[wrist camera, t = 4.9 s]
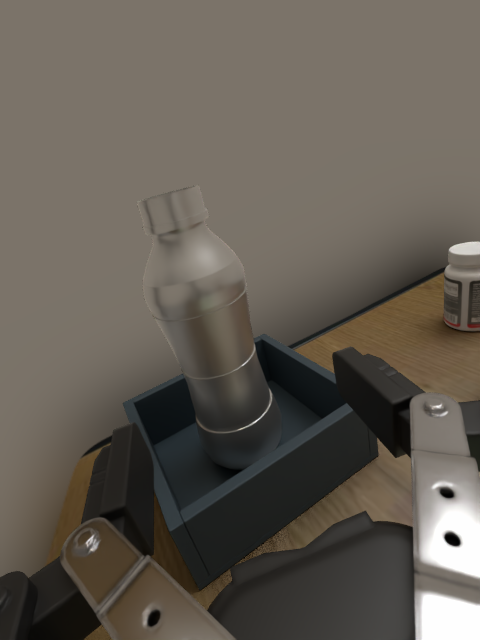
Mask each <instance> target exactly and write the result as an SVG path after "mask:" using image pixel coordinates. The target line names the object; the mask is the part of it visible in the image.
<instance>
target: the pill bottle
mask: <svg viewBox="0 0 480 640" xmlns="http://www.w3.org/2000/svg"><path fill="white" fill-rule="evenodd" d="M448 261H449V264H450V265H448V266H447V267H446V269H445V274H444V321H445V323H446V324H447V325H448V326H450V327H452V328H454V329H458V330H463V331H480V242H468V243H461V244H458V245H455V246H452V247H451V248H450V249H449V256H448Z"/></svg>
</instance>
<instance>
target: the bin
mask: <svg viewBox="0 0 480 640" xmlns="http://www.w3.org/2000/svg"><path fill="white" fill-rule="evenodd" d="M254 344H255V348H256V353H257V357H258V360H259V363H260V365H261V368H262V371H263V374H264V376H265V379H266V382H267V385H268V387H269V389H270V390H271V392H272V394H273V396H274V398H275V400H276V402H277V405H278V407H279V409H280V413H281V424H282V434H281V439H280V441H279V443H278V445H277V447H276V449H275V450H273V451H272V452H270V453H269V454H267V455H266V456H264V457H263V458H261V459H260V460H258V461H257V462H255V463H253V464H252V465H250V466H249V467H247V468H246V469H244V470H233V469H229V468H225V467H222V466H220V465H218V464H216V463H215V462H214V461H213V460H212V459H211V458H210V457H209V455H208V454H207V452H206V451H205V449H204V448H203V446H202V445H201V442H200V438H199V434H198V429H197V425H196V413H195V409H194V406H193V402H192V399H191V395H190V391H189V388H188V384H187V381H186V379H185V377H184V375H183V374H181V375H179V376H177V377H175V378H173V379H171V380H169V381H167V382H165V383H163V384H160V385H159V386H156V387H154V388H152V389H150V390H148V391H146V392H144V393H143V394H140V395H138V396H136V397H134V398H132V399H130V400H128V401H126V402H124V403H123V406H124V408H125V411H126V414H127V417H128V420H129V422H130V423H133V422H135V423H136V424H137V426H138V428H139V430H140V432H141V434H142V436H143V438H144V440H145V442H146V444H147V446H148V448H149V451H150V453H151V456H152V460H153V465H154V492H155V494H156V497H157V500H158V503H159V505H160V508H161V511H162V514H163V516H164V519H165V522H166V525H167V527H168V530H169V533H170V535H171V537H172V538H173V540H174V542H175V544H176V546H177V548H178V550H179V552H180V554H181V556H182V558H183V559H184V561H185V563H186V565H187V567H188V569H189V571H190V573H191V575H192V577H193V579H194V580H195V582H196V584H197V586H198V588H199V590H201V589H202V588H204V587H205V586H206V585H208V584H209V583H210V582H212V581H213V580H214V579H216V578H217V577H218V576H220V575H221V574H222V573H224V572H225V571H226V570H228V569H229V568H230V567H232V566H233V565H234V564H235V563H237V562H238V561H239V560H241V559H242V558H243V557H245V556H246V555H247V554H249V553H250V552H251V551H253V550H254V549H255V548H257V547H258V546H259V545H261V544H262V543H263V542H265V541H266V540H267V539H269V538H270V537H271V536H272V535H274V534H275V533H276V532H278V531H279V530H280V529H282V528H283V527H284V526H286V525H287V524H288V523H290V522H291V521H292V520H294V519H295V518H296V517H298V516H299V515H300V514H302V513H303V512H304V511H306V510H307V509H308V508H309V507H311V506H312V505H313V504H315V503H316V502H317V501H319V500H320V499H321V498H323V497H324V496H325V495H327V494H328V493H329V492H331V491H332V490H333V489H335V488H336V487H337V486H339V485H340V484H341V483H343V482H344V481H345V480H346V479H348V478H349V477H350V476H352V475H353V474H354V473H356V472H357V471H358V470H360V469H361V468H362V467H364V466H365V465H366V464H368V463H369V462H370V461H372V460H373V459H374V458H376V457H377V456H378V444H377V437H376V435H375V434H374V433H373V432H372V431H371V430H370V429H369V427H368V426H367V425H366V424H365V423H364V422H363V421H362V420H361V418H360V417H359V416H358V415H357V414H356V413H355V412H354V411H353V409H352V408H351V407H350V406H349V405H348V404H347V403H346V402H345V400H344V399H343V398H342V397H341V395H340V393H339V391H338V388H337V385H336V379H335V374H334V373H332V372H330V371H328V370H327V369H325V368H323V367H321V366H320V365H318V364H316V363H315V362H313V361H311V360H309V359H308V358H306V357H304V356H302V355H301V354H299V353H297V352H295V351H294V350H292V349H290V348H289V347H287V346H285V345H283V344H282V343H280V342H278V341H276V340H275V339H273V338H271V337H269V336H268V335H266V334H262V335H260V336H258V337H256V338H254Z"/></svg>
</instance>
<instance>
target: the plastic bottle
mask: <svg viewBox="0 0 480 640" xmlns="http://www.w3.org/2000/svg"><path fill="white" fill-rule="evenodd" d="M137 204H138V209H139V212H140V215H141V218H142V221H143V224H144V226H143V230H144V232H145V235H151V236H152V241H153V246H152V249H151V252H150V255H149V258H148V261H147V265H146V268H145V273H144V277H143V293H144V300H145V302H146V304H147V306H148V308H149V310H150V312H151V313H152V314H153V317H154V319H155V320H156V322H157V324H158V325H159V327H160V329H161V331H162V332H163V334H164V336H165V338H166V339H167V341H168V342H169V344H170V346H171V348H172V350H173V352H174V355H175V357H176V359H177V361H178V363H179V365H180V367H181V369H182V372H183V375H184V377H185V379H186V381H187V384H188V388H189V391H190V395H191V399H192V402H193V406H194V409H195V413H196V425H197V429H198V434H199V438H200V442H201V445H202V446H203V448H204V449H205V451H206V452H207V454H208V455H209V457H210V458H211V459H212V460H213V461H214V462H215V463H216V464H218V465H220V466H222V467H225V468H229V469H233V470H244V469H246V468H247V467H249V466H250V465H252V464H253V463H255V462H257V461H258V460H260V459H261V458H263V457H264V456H266V455H267V454H269V453H270V452H272V451H273V450H275V449H276V447H277V445H278V443H279V441H280V439H281V434H282V424H281V413H280V409H279V407H278V405H277V402H276V400H275V398H274V396H273V394H272V392H271V390H270V389H269V387H268V385H267V382H266V379H265V376H264V374H263V371H262V368H261V365H260V363H259V360H258V357H257V353H256V348H255V344H254V338H253V333H252V328H251V323H250V315H249V304H248V295H247V286H246V277H245V272H244V267H243V265H242V264H241V262H240V260H239V258H238V257H237V255H236V254H235V253H234V252H233V251H232V250H231V248H230V247H229V246H228V245H227V244H226V243H225V242H224V241H222V240H221V239H220V238H219V237H217V236H216V235H215V234H214V233H213V232H211V231H210V230H209V229H208V227H207V225H206V223H205V219H207V218H208V217H209V214H208V210H207V209H205V205H204V201H203V197H202V194H201V190H200V189H199V185H197V186H192V187H188V188H184V189H180V190H176V191H172V192H168V193H165V194H161V195H157V196H154V197H150V198H147V199H144V200H141V201H138V202H137Z"/></svg>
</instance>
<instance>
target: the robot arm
mask: <svg viewBox="0 0 480 640" xmlns="http://www.w3.org/2000/svg"><path fill="white" fill-rule="evenodd" d="M332 358H333V365H334V372H335V379H336V385H337V388H338V391H339V393H340V395H341V397H342V398H343V399H344V400H345V402H346V403H347V404H348V405H349V406H350V407H351V408H352V409H353V411H354V412H355V413H356V414H357V415H358V416H359V417H360V418H361V420H362V421H363V422H364V423H365V424H366V425H367V426H368V427H369V429H370V430H371V431H372V432H373V433H374V434H375V435H376V437H377V438H378V439H379V440H380V441H381V442H382V443H383V444H384V446H385V447H386V448H387V449H388V450H389V451H390V452H391V453H392V455H393V456H394V457H395V458H397V457H400V456H402V455H405V454H407V455H408V456H409V457H410V458H411V472H412V511H413V527H410V526H407V525H404V524H400V523H396V522H388V521H376V522H373V521H372V520H371V518H370V517H369V515H368V514H367V512H366V511H364V512H362V513H359V514H357V515H354V516H352V517H350V518H347V519H345V520H342V521H340V522H338V523H335V524H333V525H332V526H331V527H330V528H328V529H327V530H326V531H325V532H323V533H322V534H321V535H320V536H318V537H317V538H316V539H315V540H313V541H312V542H311V543H310V544H308V545H307V546H306V547H304V548H301V549H294V550H286V551H278V552H270V553H264V554H261V555H259V556H257V557H254V558H252V559H249V560H247V561H245V562H242V563H240V564H237V565H235V566H233V567H230V570H231V575H232V580H233V581H232V582H231V583H229V584H228V585H227V586H226V587H225V588H224V589H223V590H222V591H221V592H220V593H219V594H218V596H217V597H216V598H215V599H214V601H213V602H212V603H211V605H210V607H209V608H208V610H207V611H206V610H205V609H204V608H203V607H202V606H201V605H200V604H199V603H198V602H197V601H196V600H195V599H194V598H193V597H192V596H191V595H190V594H189V593H188V592H187V591H186V590H185V589H184V588H183V587H182V586H181V585H180V584H178V583H177V582H176V581H175V580H174V579H173V578H172V577H171V576H170V575H169V574H168V573H167V572H166V571H165V570H164V569H163V568H162V567H161V566H160V565H159V564H158V563H157V562H156V561H155V560H154V559H153V558H151V557H150V556H151V555H153V554H154V465H153V460H152V456H151V453H150V451H149V448H148V446H147V444H146V442H145V440H144V438H143V436H142V434H141V432H140V430H139V428H138V426H137V424H136V423H135V422H133V423H130V424H127V425H125V426H122V427H119V428H116V429H114V430H113V435H112V441H111V445H109V446H107V447H104V448H102V450H101V452H100V453H99V455H98V456H97V458H96V459H95V462H94V466H93V471H92V476H91V480H90V486H89V489H88V494H87V499H86V503H85V508H84V512H83V517H82V522H81V525H80V526H79V527H78V528H76V529H75V530H74V531H73V532H72V533H71V535H70V536H69V537H68V538H67V540H66V542H65V543H64V545H63V548H62V550H61V554H60V556H59V557H58V558H57V559H55V560H54V561H53V562H51V563H50V564H48V565H47V566H45V567H44V568H43V569H41V570H40V571H38V572H37V573H36V574H34V575H32V576H31V577H29V578H28V577H27V576H26V575H25V574H24V573H23V572H20V571H16V572H11V573H8V574H6V575H4V576H2V577H0V640H83V639H84V638H86V637H87V636H88V635H89V634H90V633H92V632H93V631H94V630H95V629H97V628H98V627H99V626H100V625H103V626H104V628H105V629H106V631H107V632H108V633H109V635H110V636H111V638H112V639H113V640H480V476H479V472H480V400H479V401H470V402H459V403H457V402H456V401H455V400H454V399H452V398H451V397H449V396H446V395H443V394H439V393H426V392H424V391H423V390H422V389H420V388H419V387H418V386H417V385H415V384H414V383H413V382H411V381H410V380H409V379H407V378H406V377H405V376H403V375H402V374H401V373H398V371H397V370H395V369H394V368H393V367H390V365H389V364H388V363H386V362H385V361H384V360H382V359H381V358H378V357H376V356H373V355H370V354H366V355H362V354H361V353H359V352H358V351H357V350H356V349H354V348H353V347H348V348H345V349H342V350H340V351H337V352H334V353H333V355H332Z"/></svg>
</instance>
